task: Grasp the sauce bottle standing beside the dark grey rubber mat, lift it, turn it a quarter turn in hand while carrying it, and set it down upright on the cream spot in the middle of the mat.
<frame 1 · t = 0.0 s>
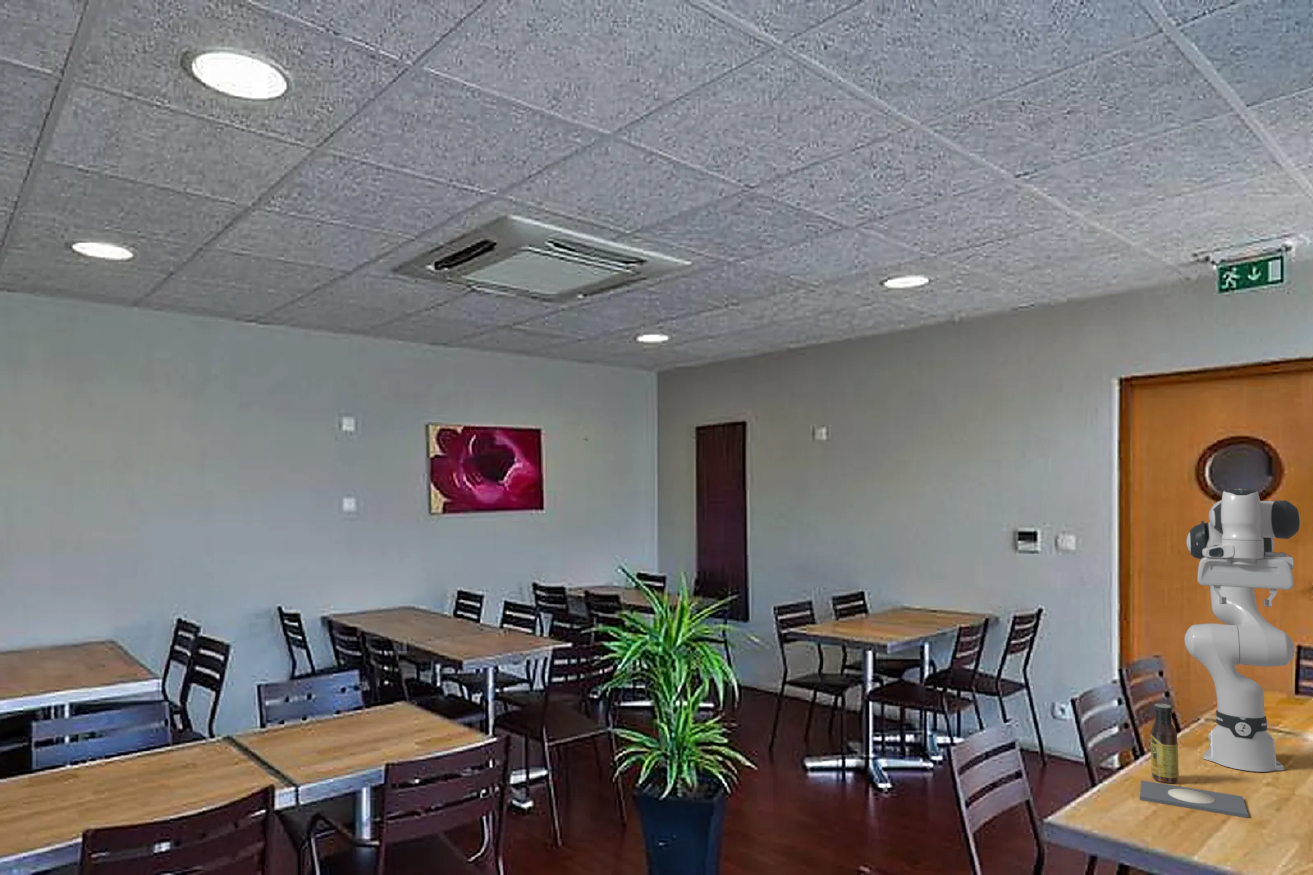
hand: (1245, 605, 212), 48 cm above the table, fingers open, 8 cm apart
sauce bottle: (1165, 781, 221), on the table
mat: (1191, 799, 207), on the table
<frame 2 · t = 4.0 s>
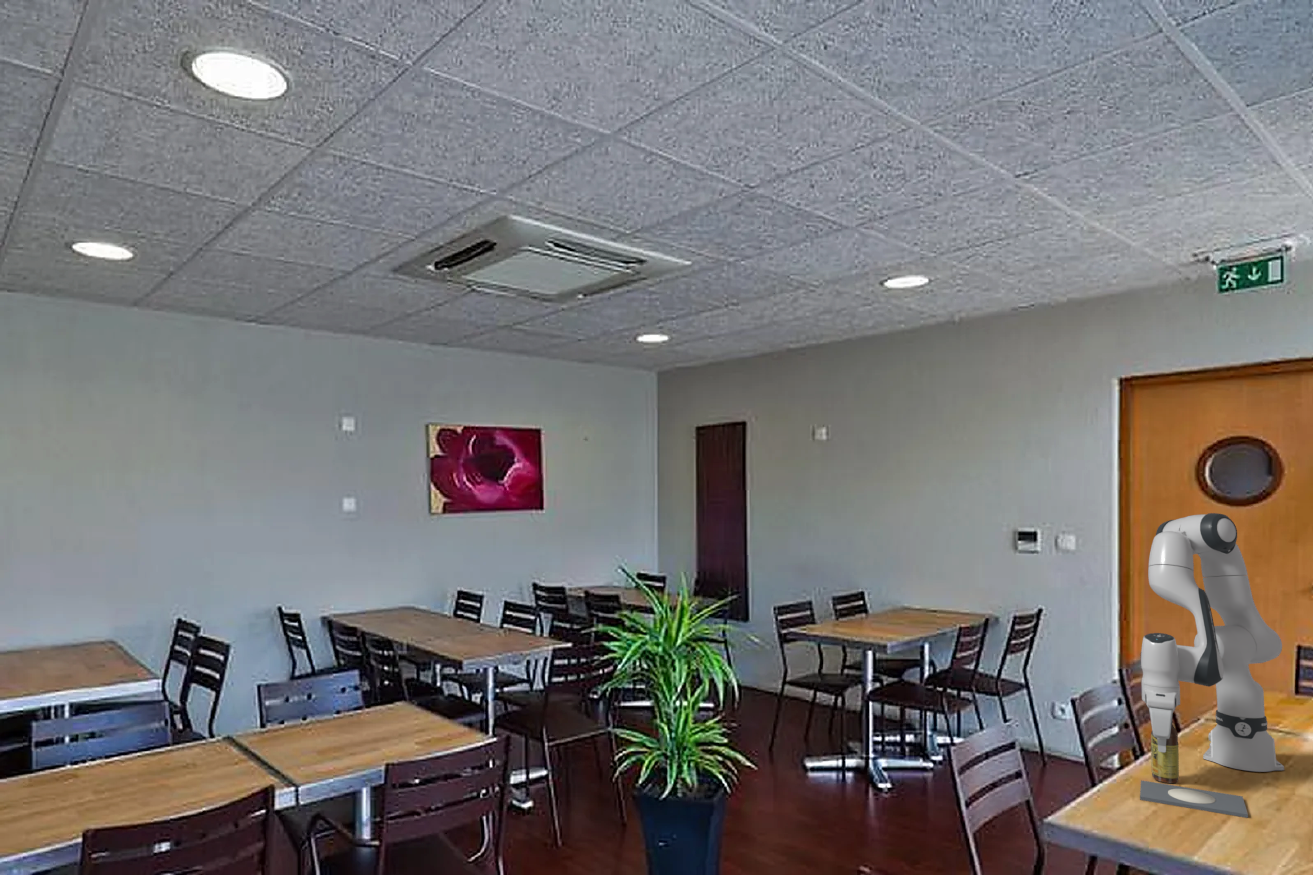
hand: (1162, 748, 221), 8 cm above the table, fingers closed on sauce bottle, 6 cm apart
sauce bottle: (1165, 781, 221), on the table, touching arm, gripper
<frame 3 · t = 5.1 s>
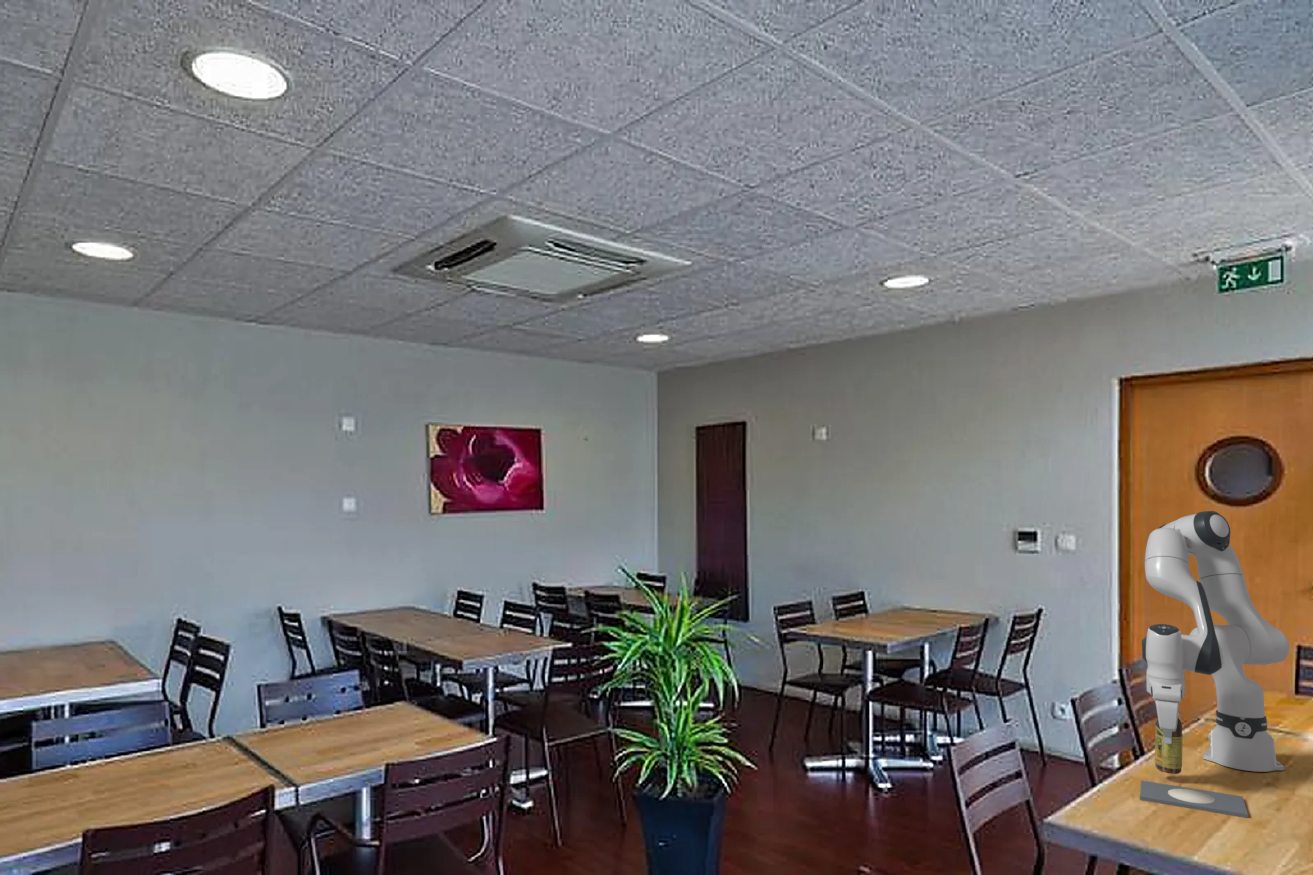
hand: (1166, 739, 221), 11 cm above the table, fingers closed on sauce bottle, 6 cm apart
sauce bottle: (1168, 771, 222), point 2 cm above the table, touching arm, gripper
when the fingers open (11 cm above the table, at t = 10.3 s): sauce bottle moves 3 cm, resting on mat.
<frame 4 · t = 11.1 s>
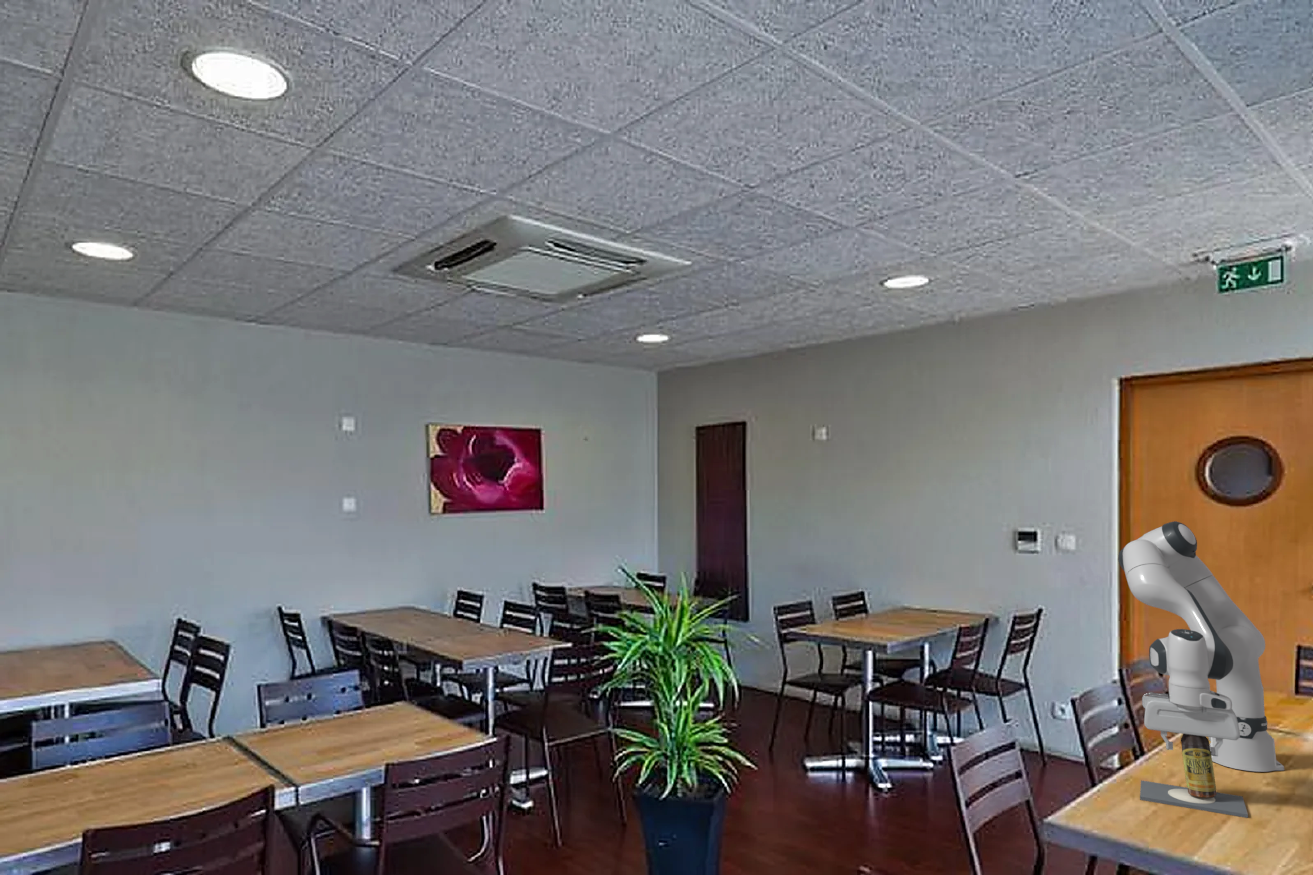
hand: (1191, 752, 208), 12 cm above the table, fingers open, 8 cm apart
sauce bottle: (1203, 796, 206), point 1 cm above the table, touching mat
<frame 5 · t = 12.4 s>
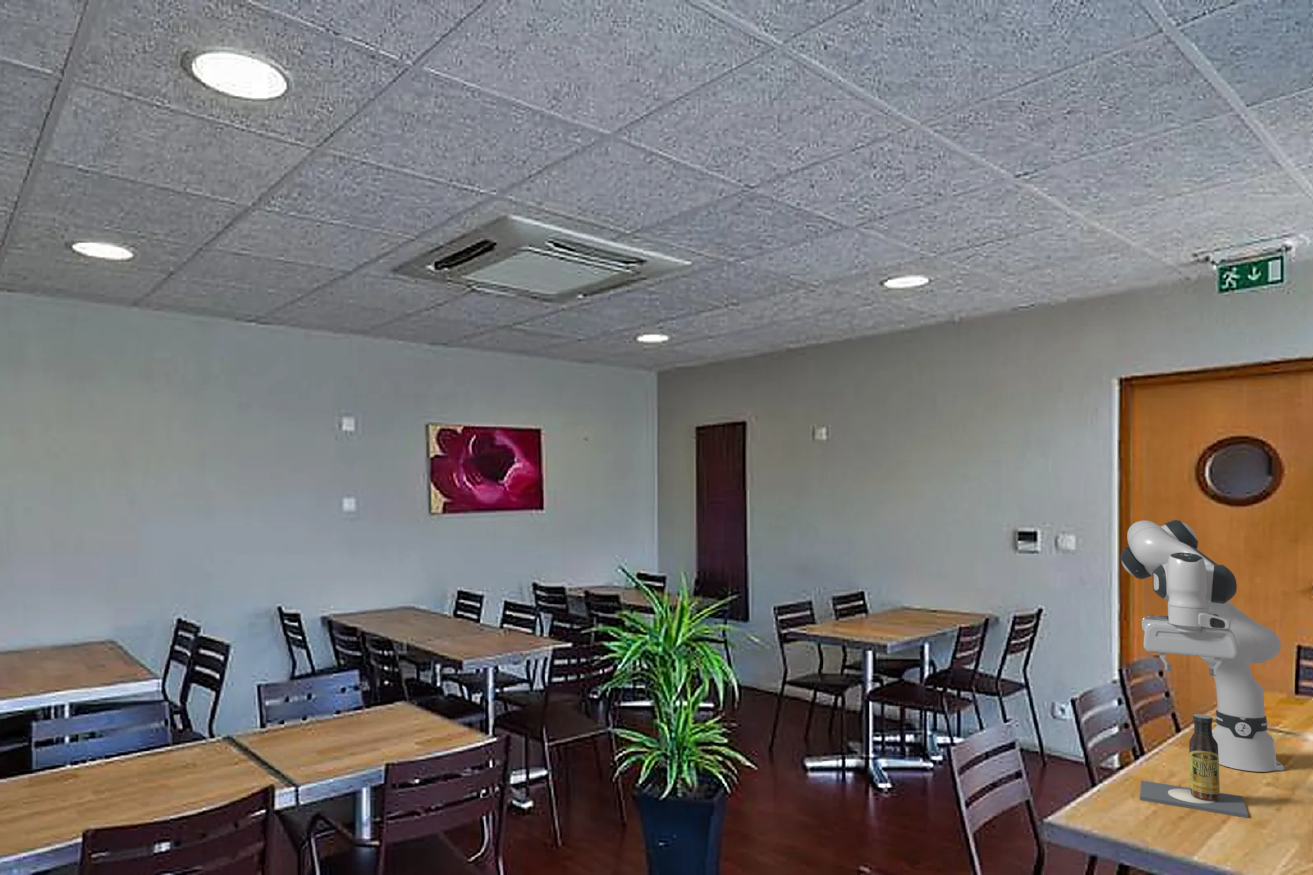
hand: (1190, 673, 209), 31 cm above the table, fingers open, 8 cm apart
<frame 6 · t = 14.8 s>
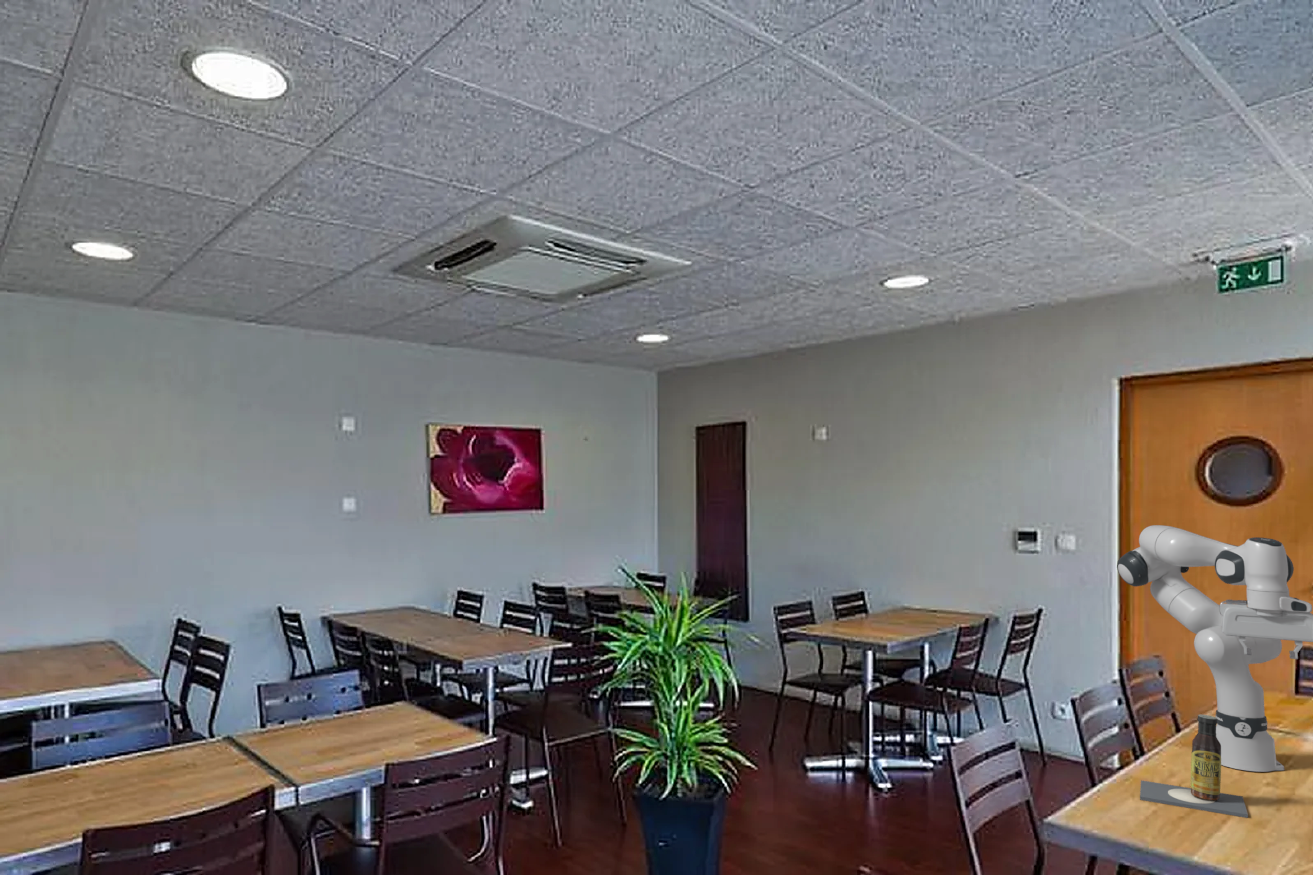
hand: (1270, 656, 211), 35 cm above the table, fingers open, 8 cm apart
at the end: sauce bottle inside the target area on the mat (3.1 cm from its centre), point 0.8 cm above the mat's base; sauce bottle tilted 1°; the gripper is holding nothing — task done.
